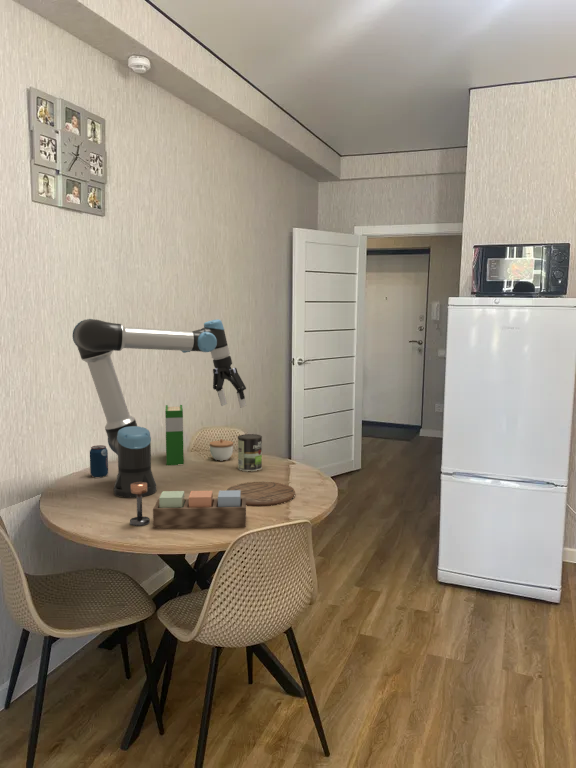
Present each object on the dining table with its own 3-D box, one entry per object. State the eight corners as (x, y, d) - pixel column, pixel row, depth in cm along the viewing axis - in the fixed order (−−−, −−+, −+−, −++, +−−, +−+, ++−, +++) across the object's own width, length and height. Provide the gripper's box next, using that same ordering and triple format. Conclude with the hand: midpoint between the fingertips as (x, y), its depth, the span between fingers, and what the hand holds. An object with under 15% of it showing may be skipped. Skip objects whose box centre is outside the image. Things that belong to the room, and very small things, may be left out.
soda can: (111, 475, 233) (110, 446, 232) (95, 479, 228) (94, 449, 227) (103, 472, 238) (102, 444, 237) (87, 475, 233) (86, 446, 232)
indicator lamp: (128, 526, 176) (127, 487, 175) (132, 519, 182) (131, 481, 181) (147, 526, 176) (147, 486, 175) (151, 519, 182) (150, 481, 181)
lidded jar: (232, 462, 256) (232, 441, 255) (208, 462, 256) (208, 441, 255) (234, 456, 267) (234, 436, 266) (211, 456, 267) (211, 436, 266)
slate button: (218, 509, 177) (217, 497, 176) (219, 502, 183) (219, 490, 183) (240, 509, 177) (240, 496, 177) (240, 502, 184) (240, 490, 183)
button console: (153, 528, 174) (152, 509, 174) (158, 517, 184) (158, 499, 184) (245, 526, 176) (245, 507, 175) (246, 515, 186) (245, 497, 185)
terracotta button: (188, 510, 176) (188, 497, 176) (191, 503, 183) (191, 490, 182) (211, 509, 177) (211, 497, 176) (212, 502, 183) (212, 490, 183)
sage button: (159, 510, 176) (159, 497, 175) (163, 503, 182) (162, 491, 182) (181, 510, 176) (181, 497, 176) (184, 503, 183) (184, 491, 182)
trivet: (309, 496, 208) (309, 491, 207) (256, 512, 191) (256, 506, 190) (264, 482, 226) (264, 477, 226) (212, 495, 209) (212, 490, 209)
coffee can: (266, 467, 248) (266, 435, 246) (253, 472, 239) (253, 439, 237) (246, 464, 253) (246, 433, 251) (233, 469, 244) (233, 437, 242)
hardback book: (166, 456, 267) (165, 405, 265) (182, 455, 269) (182, 404, 266) (166, 465, 250) (165, 411, 248) (183, 464, 252) (182, 410, 249)
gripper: (246, 354, 229) (258, 404, 234) (211, 355, 248) (223, 401, 253) (232, 359, 225) (244, 410, 229) (197, 359, 243) (209, 407, 248)
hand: (233, 405), depth 241 cm, fingers open, 13 cm apart
